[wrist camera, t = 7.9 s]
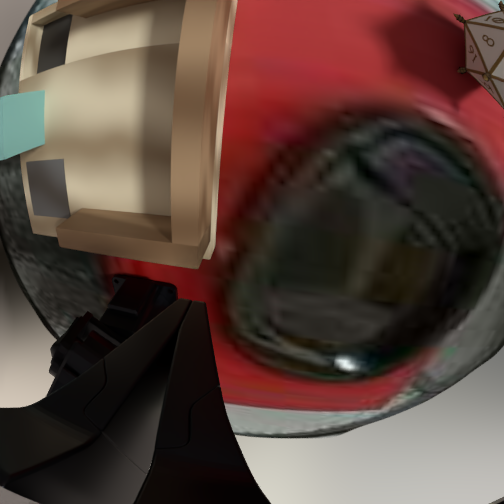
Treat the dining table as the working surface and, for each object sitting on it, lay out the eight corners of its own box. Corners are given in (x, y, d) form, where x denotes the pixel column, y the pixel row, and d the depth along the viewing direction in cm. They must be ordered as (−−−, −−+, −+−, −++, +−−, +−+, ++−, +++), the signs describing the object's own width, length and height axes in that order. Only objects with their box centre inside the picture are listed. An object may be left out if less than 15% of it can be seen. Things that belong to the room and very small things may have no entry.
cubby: (210, 240, 19) (197, 269, 16) (85, 225, 19) (59, 246, 16) (235, -23, 9) (226, -49, 6) (89, 2, 10) (60, -8, 7)
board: (215, 245, 21) (209, 260, 19) (45, 224, 21) (32, 233, 20) (242, -27, 10) (238, -40, 9) (43, 18, 11) (28, 16, 9)
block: (44, 144, 15) (4, 159, 11) (15, 148, 15) (-21, 164, 12) (45, 89, 13) (3, 96, 9) (14, 100, 13) (-24, 109, 9)
